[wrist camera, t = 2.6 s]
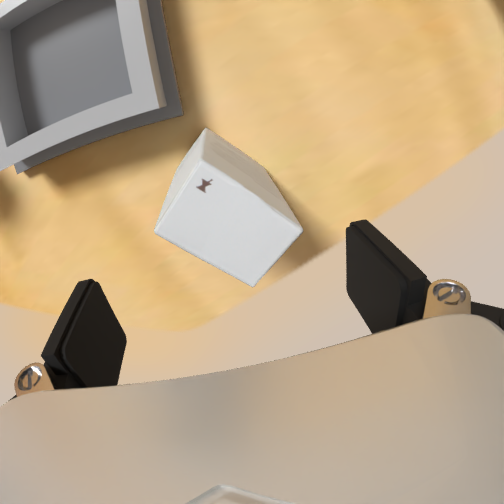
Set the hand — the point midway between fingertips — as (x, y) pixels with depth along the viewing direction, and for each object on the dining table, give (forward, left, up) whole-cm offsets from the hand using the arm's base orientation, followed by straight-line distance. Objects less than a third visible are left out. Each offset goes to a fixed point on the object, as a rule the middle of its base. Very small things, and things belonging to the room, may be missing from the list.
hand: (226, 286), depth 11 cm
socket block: (+10, -13, -16) cm, 23 cm away
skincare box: (0, 0, -16) cm, 16 cm away
